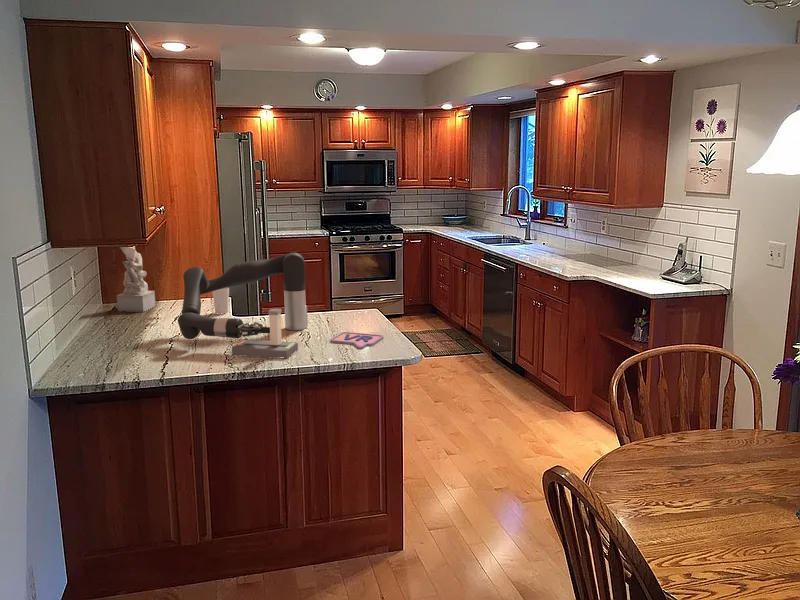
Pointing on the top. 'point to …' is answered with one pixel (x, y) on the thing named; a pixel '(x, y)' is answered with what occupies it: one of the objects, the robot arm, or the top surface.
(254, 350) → the switch base
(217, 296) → the cup
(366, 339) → the icon
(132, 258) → the sculpture
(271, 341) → the handle
